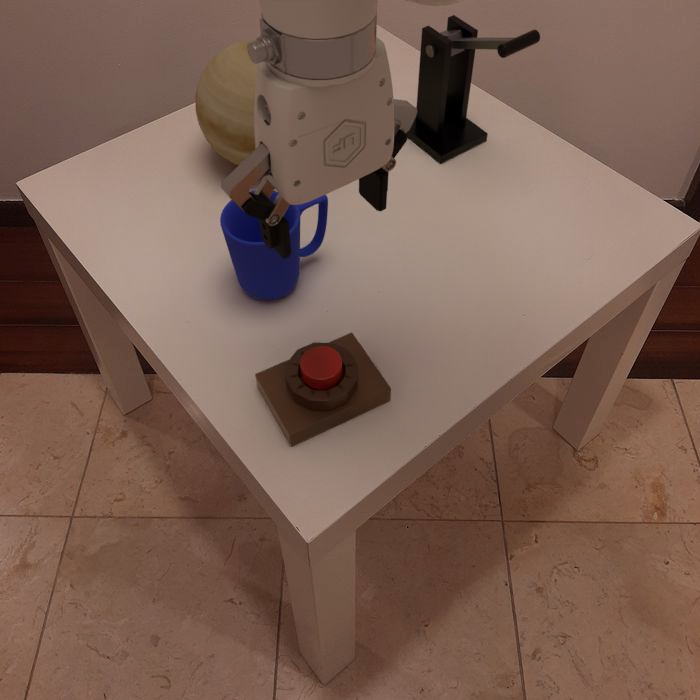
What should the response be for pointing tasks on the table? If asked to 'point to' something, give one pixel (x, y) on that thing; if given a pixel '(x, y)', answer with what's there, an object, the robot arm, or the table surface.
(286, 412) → the button block
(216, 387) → the table surface
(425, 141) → the switch bracket
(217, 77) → the decorative ball
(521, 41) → the switch lever
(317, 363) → the power button
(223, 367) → the table surface
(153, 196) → the table surface
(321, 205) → the mug
